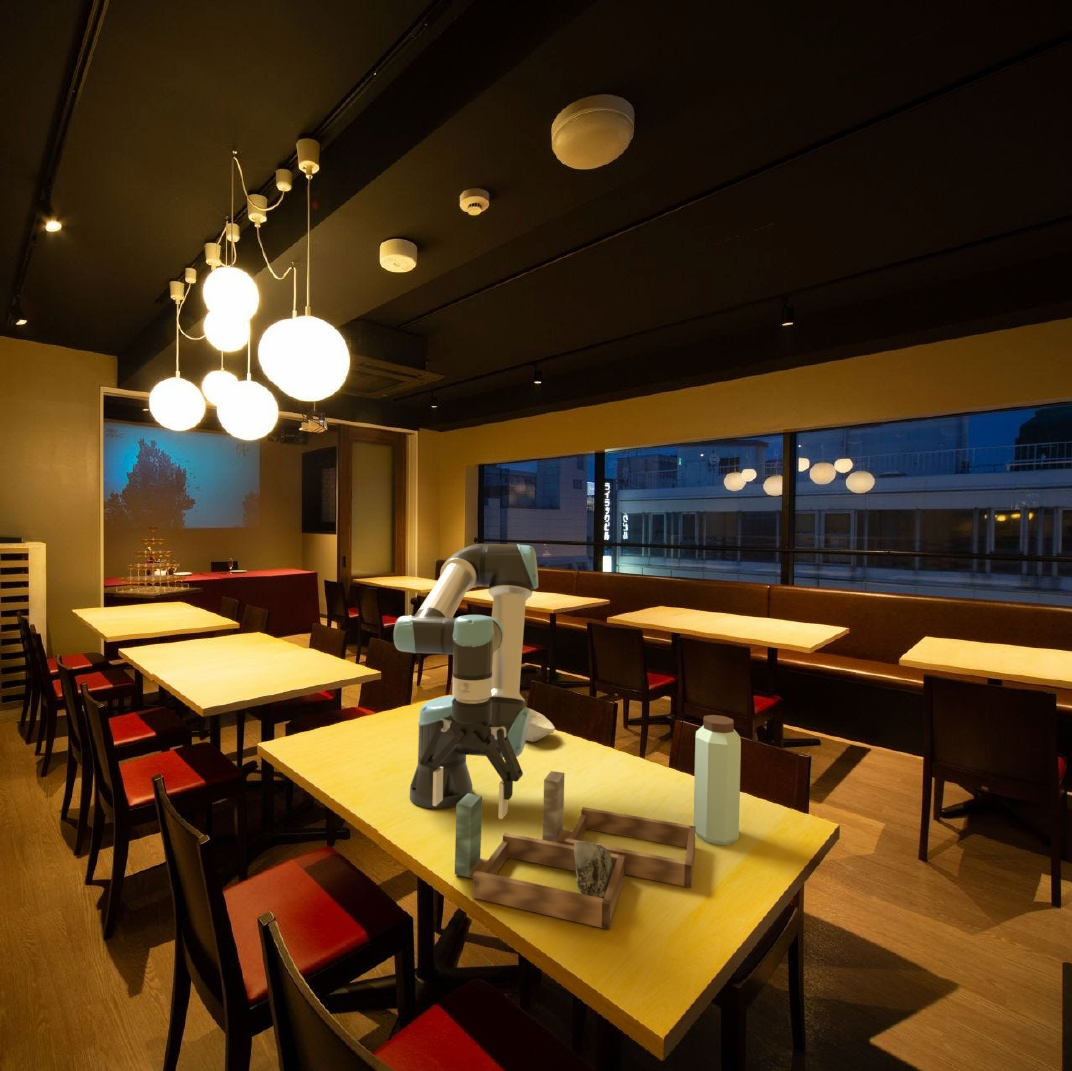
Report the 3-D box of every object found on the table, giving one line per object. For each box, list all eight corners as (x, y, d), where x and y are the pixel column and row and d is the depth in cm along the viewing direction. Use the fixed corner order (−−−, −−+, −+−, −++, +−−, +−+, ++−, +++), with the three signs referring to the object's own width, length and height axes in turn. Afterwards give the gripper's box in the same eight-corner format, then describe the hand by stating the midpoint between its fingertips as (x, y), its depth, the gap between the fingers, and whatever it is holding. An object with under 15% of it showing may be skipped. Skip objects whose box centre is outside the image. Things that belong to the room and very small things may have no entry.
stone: (621, 844, 101) (573, 824, 107) (596, 902, 95) (547, 878, 101) (636, 870, 106) (589, 850, 112) (613, 927, 100) (565, 902, 106)
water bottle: (685, 824, 130) (687, 712, 130) (728, 823, 130) (730, 712, 131) (701, 847, 120) (704, 727, 120) (748, 847, 120) (751, 726, 121)
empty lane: (534, 855, 114) (536, 789, 115) (556, 820, 129) (557, 762, 129) (691, 887, 105) (692, 815, 105) (695, 845, 120) (696, 782, 120)
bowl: (555, 749, 174) (556, 716, 174) (509, 747, 174) (509, 714, 175) (554, 732, 189) (555, 702, 189) (511, 731, 189) (512, 700, 190)
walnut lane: (441, 890, 102) (443, 816, 103) (476, 847, 117) (478, 782, 117) (608, 929, 93) (610, 848, 93) (624, 877, 108) (626, 807, 108)
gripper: (403, 695, 110) (401, 806, 110) (527, 711, 102) (525, 830, 103) (423, 685, 117) (421, 789, 117) (540, 699, 109) (538, 811, 110)
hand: (469, 809), depth 110 cm, fingers open, 13 cm apart
